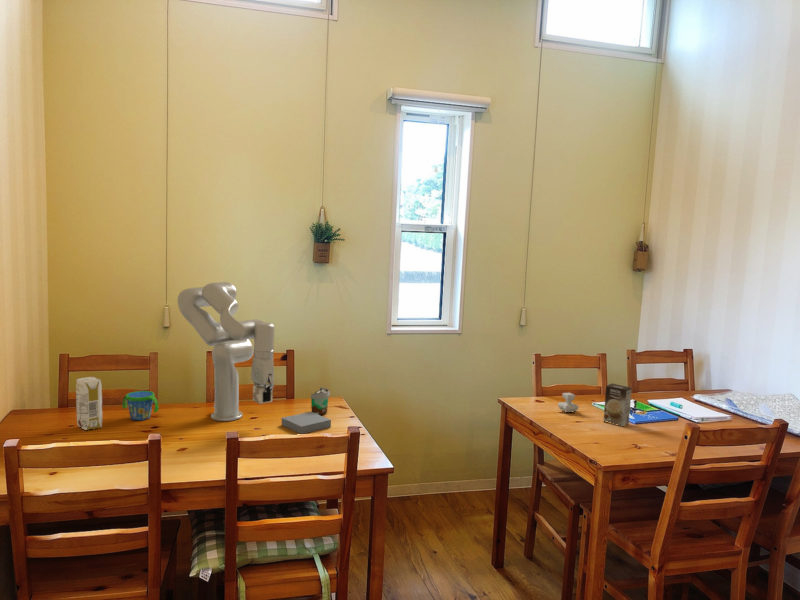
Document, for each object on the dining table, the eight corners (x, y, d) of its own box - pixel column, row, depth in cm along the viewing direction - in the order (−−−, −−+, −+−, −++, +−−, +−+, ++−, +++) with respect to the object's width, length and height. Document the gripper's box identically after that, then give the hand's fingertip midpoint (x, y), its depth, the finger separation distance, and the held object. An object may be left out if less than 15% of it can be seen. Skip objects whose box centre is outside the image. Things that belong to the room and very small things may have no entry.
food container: (324, 418, 249) (324, 395, 248) (310, 417, 250) (310, 393, 249) (333, 410, 261) (333, 387, 260) (320, 409, 262) (320, 386, 261)
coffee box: (602, 422, 255) (604, 385, 254) (608, 419, 260) (611, 383, 258) (623, 427, 249) (626, 389, 247) (629, 424, 254) (632, 387, 252)
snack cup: (165, 417, 244) (165, 393, 243) (145, 424, 234) (145, 399, 233) (135, 412, 249) (135, 388, 248) (115, 419, 239) (115, 394, 238)
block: (252, 400, 234) (253, 385, 234) (265, 398, 238) (265, 383, 237) (259, 403, 230) (260, 388, 230) (272, 401, 234) (272, 386, 234)
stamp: (563, 414, 265) (564, 396, 264) (555, 410, 271) (556, 392, 270) (580, 413, 267) (581, 395, 266) (572, 409, 274) (573, 391, 273)
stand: (281, 425, 238) (281, 417, 238) (310, 418, 248) (310, 411, 248) (301, 434, 228) (301, 426, 228) (330, 427, 238) (330, 419, 237)
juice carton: (83, 432, 223) (82, 382, 221) (75, 427, 229) (73, 378, 227) (104, 428, 228) (103, 379, 227) (95, 422, 234) (94, 375, 232)
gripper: (244, 351, 236) (243, 395, 238) (266, 359, 223) (265, 406, 226) (261, 349, 241) (259, 393, 243) (283, 357, 229) (282, 403, 231)
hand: (262, 399), depth 234 cm, fingers closed on block, 5 cm apart
